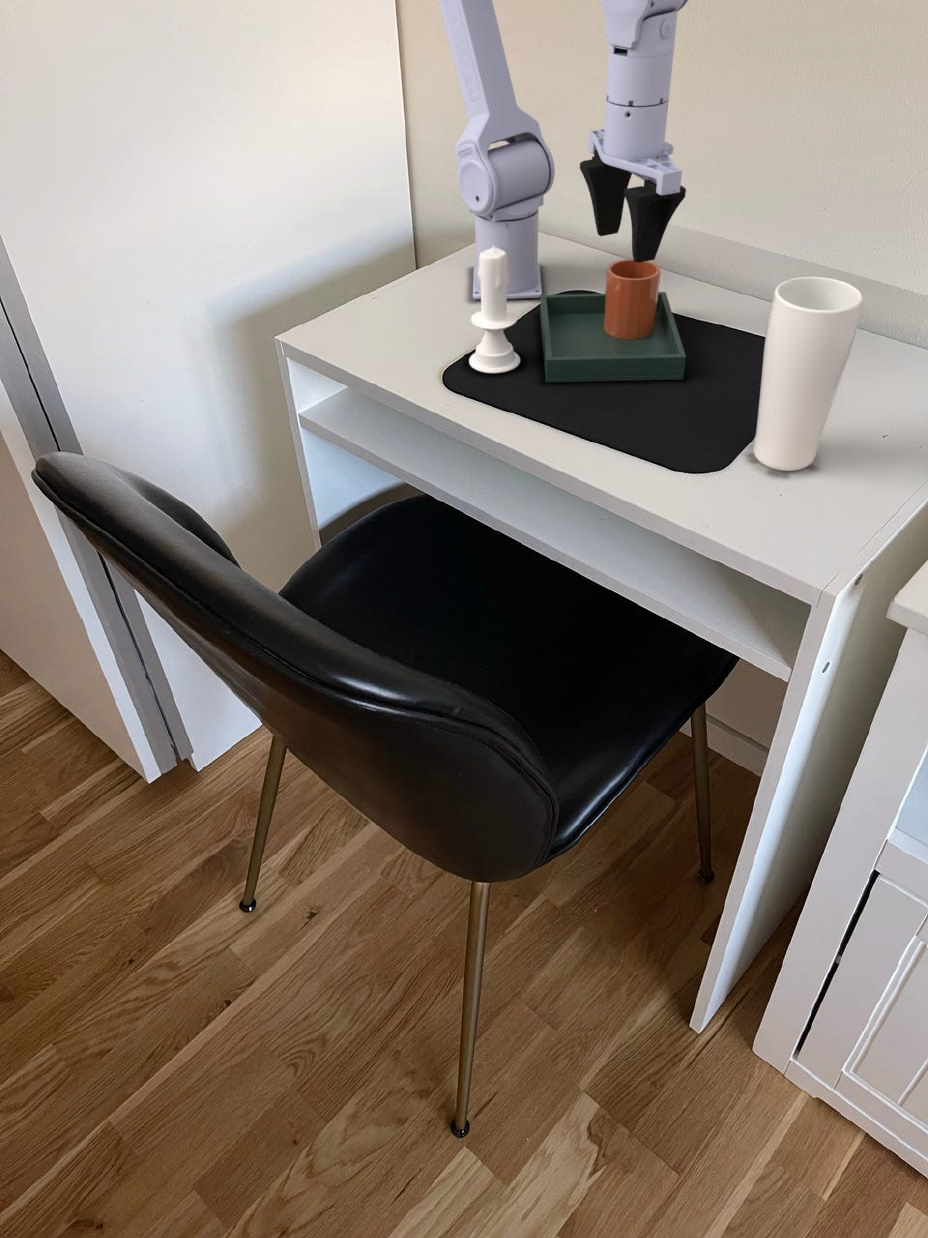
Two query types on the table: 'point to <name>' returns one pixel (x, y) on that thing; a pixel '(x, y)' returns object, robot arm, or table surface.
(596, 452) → the table surface
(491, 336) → the candle
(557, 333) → the tray
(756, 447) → the drinking glass
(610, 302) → the cup
